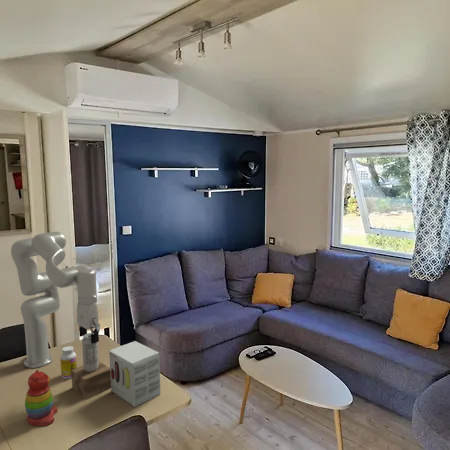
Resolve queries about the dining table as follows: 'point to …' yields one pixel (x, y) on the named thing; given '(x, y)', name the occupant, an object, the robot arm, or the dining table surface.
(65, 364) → the supplement bottle
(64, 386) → the dining table surface
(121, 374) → the supplement box
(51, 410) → the stacking bear
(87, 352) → the energy drink can
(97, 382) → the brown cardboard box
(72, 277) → the robot arm
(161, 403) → the dining table surface
